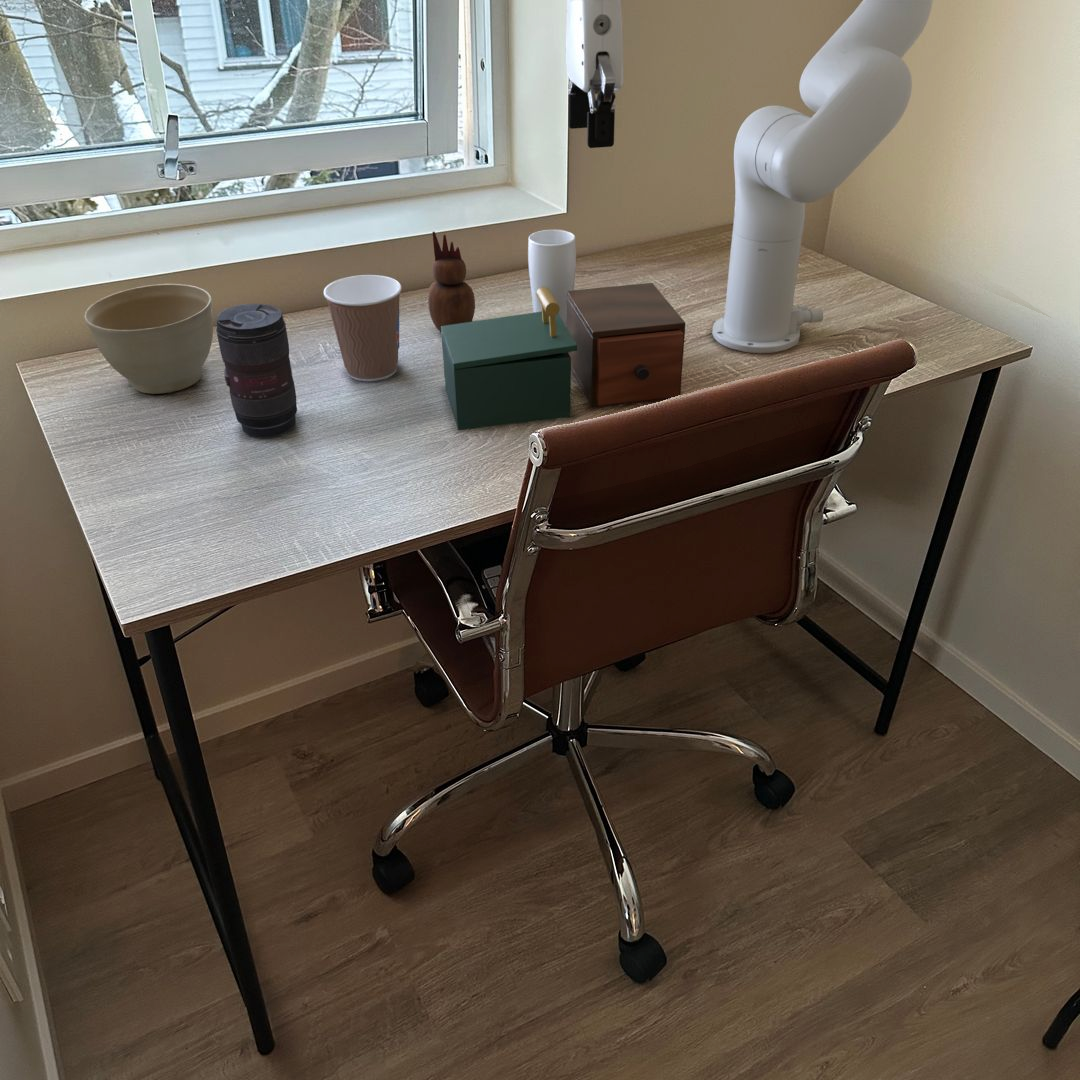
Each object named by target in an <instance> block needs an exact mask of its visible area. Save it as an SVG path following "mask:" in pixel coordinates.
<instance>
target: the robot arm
mask: <svg viewBox="0 0 1080 1080" xmlns="http://www.w3.org/2000/svg"><path fill="white" fill-rule="evenodd" d="M566 1H567V2H566V9H565V10H566V11H565V12H566V18H565V19H566V20H565V21H566V22H565V23H566V24H565V68H566V70H565V71H566V75H567V78H568V79H569V82H568V86H567V87H568V89H567V90H568V95H567V96H568V98H567V106H568V107H567V115H568V116H567V119H568V120H567V126H568V128H569V129H571V130H573V129H574V130H575V129H576V130H577V129H586V132H587V133H586V145H587V147H588V148H590V149H599V148H609V147H610V148H611V147H613V146H614V144H615V124H616V123H615V122H616V121H615V120H616V119H615V118H616V117H615V116H616V114H615V113H616V103H615V99H616V92H615V91H620V90H621V89H622V88H623V85H624V42H623V41H624V39H623V38H624V37H623V35H624V34H623V14H622V13H623V12H622V3H621V0H566ZM933 1H934V0H862V1H861V2H860V3H859V4H858V6H857V7H856V8H855V10H854V11H853V12H852V13H851V14H850V16H848V18H847V19H846V20H845V21H844V22H843V23H842V25H840V26H839V28H837V30H836V31H835V32H834V33H833V34H832V36H831V37H829V39H828V40H827V41H826V42H825V43H824V44H823V45H822V46H821V48H820V49H819V50H817V52H816V53H815V54H814V56H813V57H812V58H811V59H810V60H809V61H808V63H807V65H806V66H805V67H804V69H803V71H802V74H801V75H800V80H799V84H798V89H799V95H800V99H801V100H802V102H803V103H804V104H805V106H806V107H807V108H808V109H810V110H811V111H812V112H814V114H813V115H812V117H810V116H809V115H807V114H804V113H802V112H799V111H797V110H796V109H793V108H791V107H787V106H783V105H767V106H763V107H761V108H758V109H756V110H754V111H753V112H751V114H749V115H748V116H747V117H746V118H745V119H744V121H743V122H742V123H741V125H740V127H739V129H738V132H737V134H736V136H735V137H736V138H735V141H734V145H733V168H734V169H733V170H734V187H735V188H734V189H735V191H734V193H735V197H734V212H733V223H732V224H733V225H732V233H731V243H730V244H731V245H730V252H729V253H730V254H729V265H728V276H727V284H726V285H727V286H726V296H725V307H724V316H722V317H720V318H719V319H717V320H716V321H715V322H714V323H713V326H712V330H711V333H712V337H713V338H714V340H715V341H716V342H718V343H719V345H722V346H724V347H726V348H729V349H731V350H735V351H738V352H744V353H752V354H773V353H779V352H783V351H786V350H789V349H791V348H792V347H794V346H796V345H797V344H798V343H799V340H800V336H801V331H800V328H799V327H800V326H801V327H802V326H803V324H805V323H809V324H810V323H811V324H813V323H820V322H823V320H824V311H823V309H822V308H813V309H808V305H807V304H799V305H794V299H795V292H796V285H797V277H798V271H799V263H800V257H801V256H800V255H801V250H802V249H801V247H802V240H803V234H804V227H805V216H806V204H809V203H814V202H818V201H820V200H823V199H824V198H826V197H827V196H829V195H830V194H832V193H833V192H834V191H835V190H837V188H839V187H840V186H841V185H842V184H843V183H844V182H845V181H846V180H847V179H848V177H850V175H852V173H853V172H854V171H856V169H857V168H858V167H859V166H860V165H861V164H862V163H863V162H864V161H865V160H866V159H867V158H868V156H869V155H870V154H871V153H872V152H874V151H875V149H876V148H877V147H878V146H879V145H880V144H881V142H882V141H883V140H884V139H885V138H886V137H887V136H888V135H889V134H890V133H891V132H892V131H893V129H894V128H895V127H896V126H897V124H898V123H899V121H900V120H901V118H902V117H903V115H904V113H905V112H906V109H907V107H908V104H909V103H910V98H911V95H912V89H913V80H912V75H911V71H910V69H909V67H908V65H907V63H906V62H905V61H904V59H903V57H905V55H906V53H908V51H909V50H910V49H911V48H912V46H913V45H914V44H915V43H916V41H917V40H918V39H919V37H920V36H921V35H922V33H923V32H924V30H925V27H926V25H927V24H928V21H929V18H930V14H931V11H932V6H933ZM596 95H597V96H596Z"/></svg>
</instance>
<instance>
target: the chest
mask: <svg viewBox="0 0 1080 1080" xmlns="http://www.w3.org/2000/svg"><path fill="white" fill-rule="evenodd" d="M440 334H441V347H442V361H443V374H444V387H445V392H446V396H447V399H448V402H449V406H450V409H451V411H452V415H453V418H454V422H455V425H456V429H457V431H463V430H472V429H481V428H488V427H489V428H490V427H498V426H505V425H513V424H514V425H515V424H523V423H531V422H540V421H541V422H542V421H549V420H557V419H558V420H559V419H566V418H571V417H572V372H571V357H570V355H569V353H568V352H566V353H559V354H552V355H546V356H539V357H533V358H526V359H520V360H513V361H507V362H500V363H493V364H487V365H480V366H474V367H467V368H461V369H454V368H453V365H452V362H451V359H450V356H449V353H448V350H447V347H446V344H445V341H444V338H443V335H442V332H440Z"/></svg>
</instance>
